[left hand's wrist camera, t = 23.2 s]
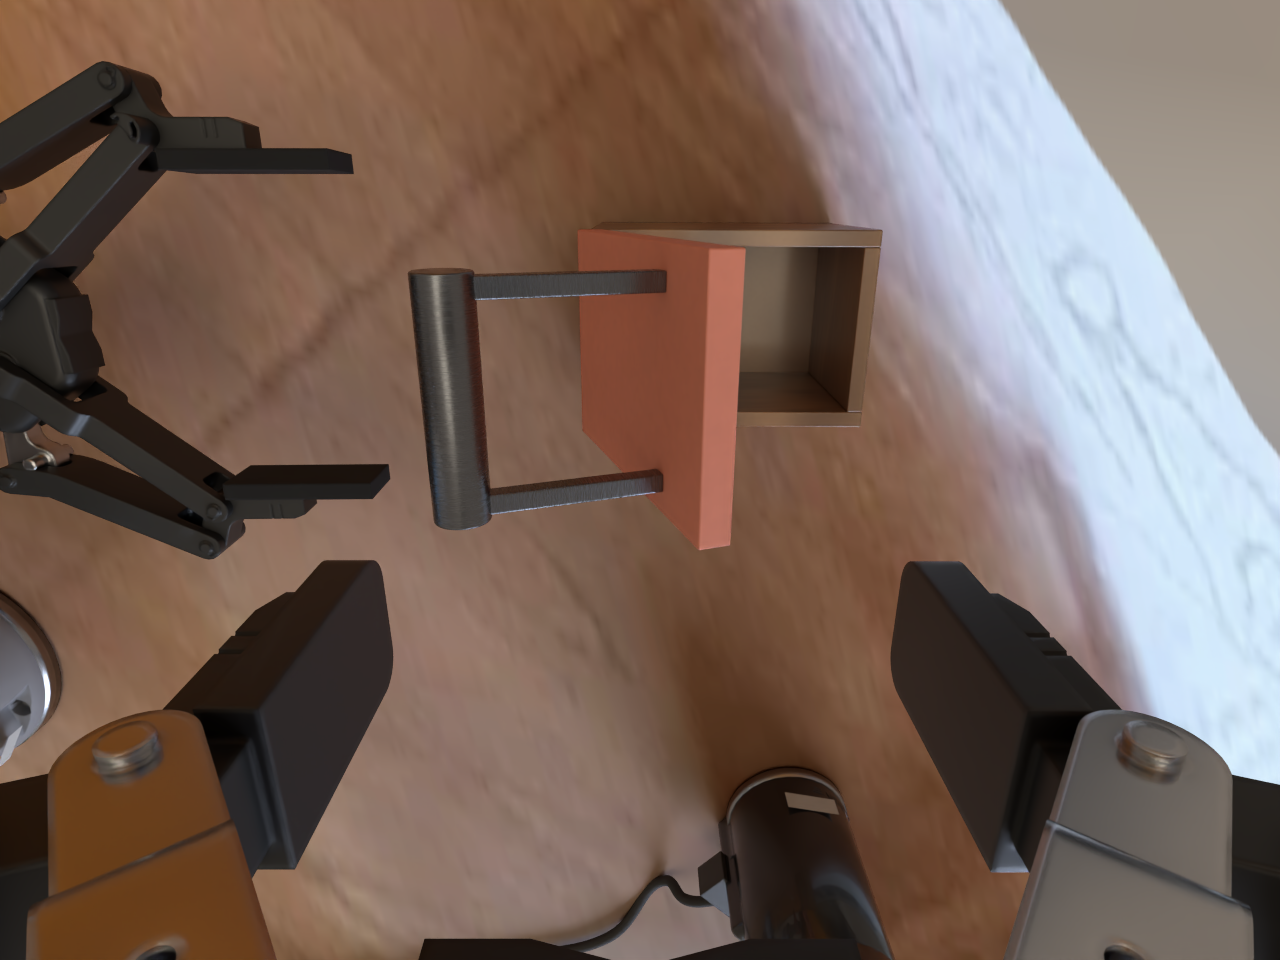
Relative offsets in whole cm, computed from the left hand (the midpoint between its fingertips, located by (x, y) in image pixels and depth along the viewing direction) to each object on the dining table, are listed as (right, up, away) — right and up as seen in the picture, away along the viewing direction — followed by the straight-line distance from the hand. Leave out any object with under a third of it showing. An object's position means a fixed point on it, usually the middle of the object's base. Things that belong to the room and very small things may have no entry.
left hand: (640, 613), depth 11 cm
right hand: (-12, +8, +20) cm, 25 cm away
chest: (+4, +13, +33) cm, 36 cm away
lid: (+1, +7, +18) cm, 19 cm away
